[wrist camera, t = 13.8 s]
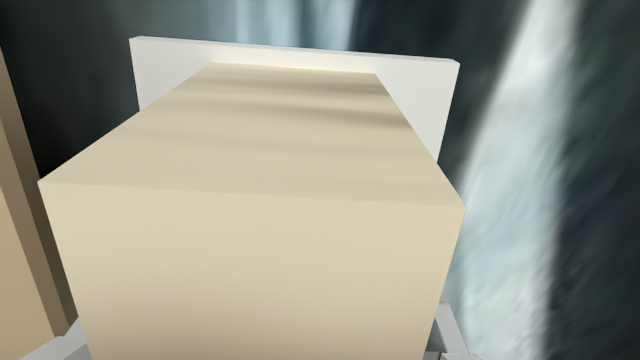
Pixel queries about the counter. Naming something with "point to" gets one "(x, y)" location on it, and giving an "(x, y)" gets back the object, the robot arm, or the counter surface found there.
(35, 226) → the carton
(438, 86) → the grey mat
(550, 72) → the counter surface
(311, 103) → the block
